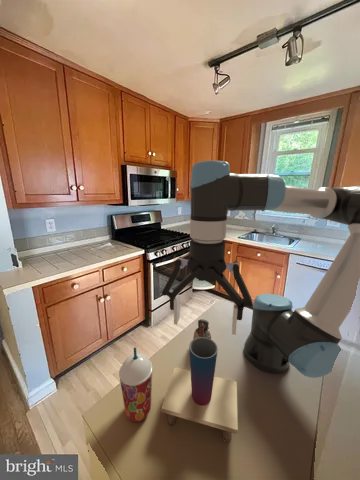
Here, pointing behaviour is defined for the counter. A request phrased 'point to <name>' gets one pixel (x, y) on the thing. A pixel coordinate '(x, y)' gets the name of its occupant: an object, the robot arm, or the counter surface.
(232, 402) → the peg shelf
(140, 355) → the smoothie
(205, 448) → the counter surface
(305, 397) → the counter surface
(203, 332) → the figurine
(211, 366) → the cup
